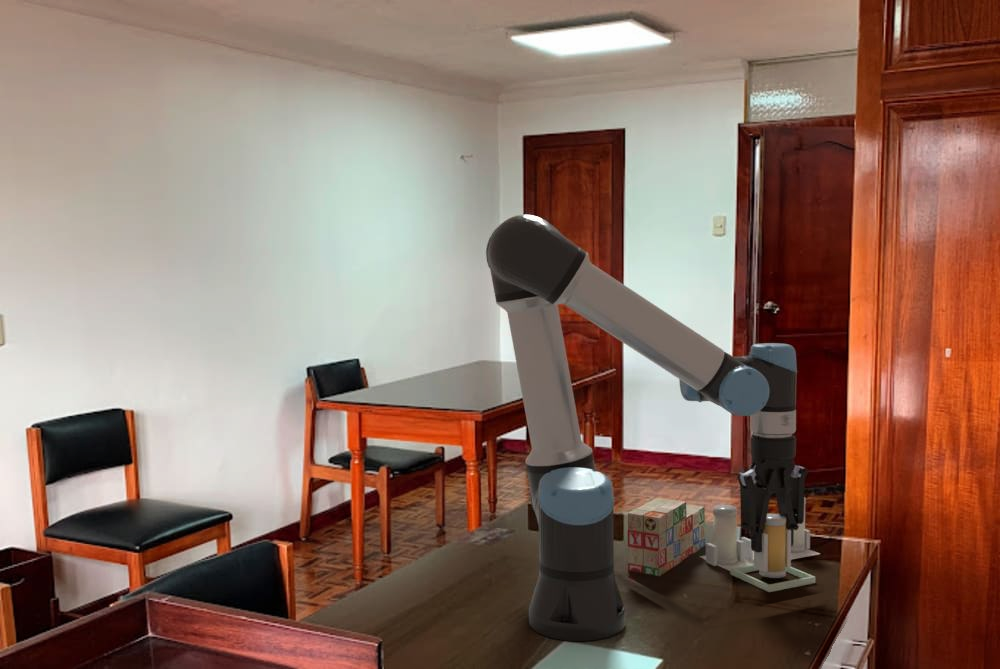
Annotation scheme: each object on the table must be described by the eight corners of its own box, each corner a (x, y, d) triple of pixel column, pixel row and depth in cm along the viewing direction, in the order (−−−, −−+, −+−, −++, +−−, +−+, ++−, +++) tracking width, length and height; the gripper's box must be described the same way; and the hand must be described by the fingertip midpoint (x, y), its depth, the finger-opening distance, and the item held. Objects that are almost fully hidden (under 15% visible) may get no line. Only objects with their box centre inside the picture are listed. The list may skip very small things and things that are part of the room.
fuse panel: (725, 579, 163) (725, 552, 162) (694, 565, 171) (694, 538, 170) (822, 561, 172) (822, 535, 171) (789, 548, 180) (789, 523, 180)
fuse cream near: (723, 566, 165) (722, 512, 164) (707, 559, 169) (707, 506, 168) (742, 562, 167) (742, 508, 166) (726, 556, 171) (726, 503, 170)
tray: (768, 600, 152) (768, 586, 152) (730, 582, 161) (730, 568, 161) (815, 591, 156) (815, 576, 156) (775, 573, 165) (775, 560, 165)
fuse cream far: (792, 554, 172) (792, 501, 171) (776, 547, 176) (776, 496, 175) (810, 550, 173) (810, 498, 173) (794, 544, 177) (794, 493, 177)
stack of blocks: (675, 548, 182) (675, 487, 181) (706, 553, 178) (705, 491, 177) (627, 579, 164) (626, 511, 163) (659, 585, 161) (659, 516, 160)
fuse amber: (753, 571, 160) (754, 515, 159) (773, 568, 161) (774, 512, 161) (771, 579, 156) (771, 521, 155) (791, 575, 157) (791, 518, 157)
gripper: (746, 442, 150) (746, 581, 151) (828, 432, 157) (826, 566, 159) (717, 434, 157) (717, 568, 158) (797, 426, 164) (796, 554, 165)
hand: (772, 566), depth 158 cm, fingers closed on fuse amber, 4 cm apart
